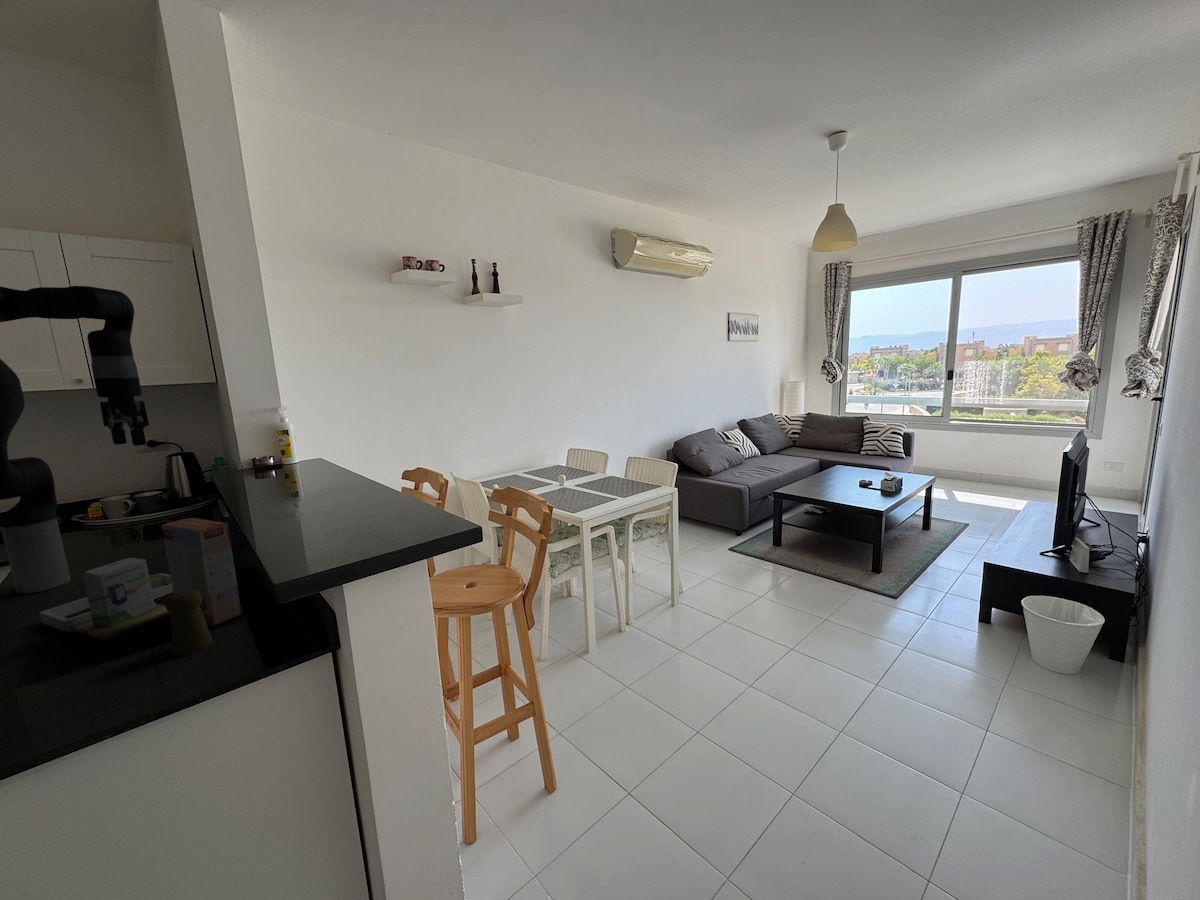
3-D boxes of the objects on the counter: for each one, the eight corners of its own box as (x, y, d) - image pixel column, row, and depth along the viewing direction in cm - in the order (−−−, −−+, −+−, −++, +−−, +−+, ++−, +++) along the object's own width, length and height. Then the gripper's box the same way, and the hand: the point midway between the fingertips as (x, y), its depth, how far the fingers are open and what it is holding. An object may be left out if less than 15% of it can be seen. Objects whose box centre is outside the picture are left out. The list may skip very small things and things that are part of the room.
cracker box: (244, 614, 104) (228, 521, 101) (212, 628, 99) (195, 530, 96) (208, 603, 110) (192, 515, 107) (176, 615, 105) (158, 523, 101)
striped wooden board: (73, 630, 100) (72, 626, 100) (145, 604, 111) (144, 600, 111) (103, 641, 95) (102, 636, 95) (175, 612, 106) (174, 608, 106)
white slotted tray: (41, 623, 104) (38, 612, 103) (162, 582, 123) (160, 572, 123) (67, 632, 99) (65, 621, 99) (189, 588, 119) (187, 578, 119)
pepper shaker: (178, 659, 88) (167, 603, 86) (166, 650, 91) (155, 596, 89) (218, 643, 93) (208, 589, 91) (205, 635, 96) (195, 583, 94)
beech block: (134, 597, 115) (131, 581, 115) (155, 590, 119) (152, 574, 118) (143, 599, 114) (140, 583, 113) (164, 592, 117) (161, 576, 117)
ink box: (139, 606, 108) (129, 556, 106) (157, 608, 106) (146, 557, 105) (91, 626, 99) (79, 572, 98) (110, 628, 98) (98, 574, 96)
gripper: (79, 377, 112) (93, 446, 115) (111, 375, 107) (126, 448, 109) (120, 377, 119) (133, 441, 121) (153, 375, 113) (165, 443, 116)
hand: (130, 444), depth 115 cm, fingers open, 8 cm apart
